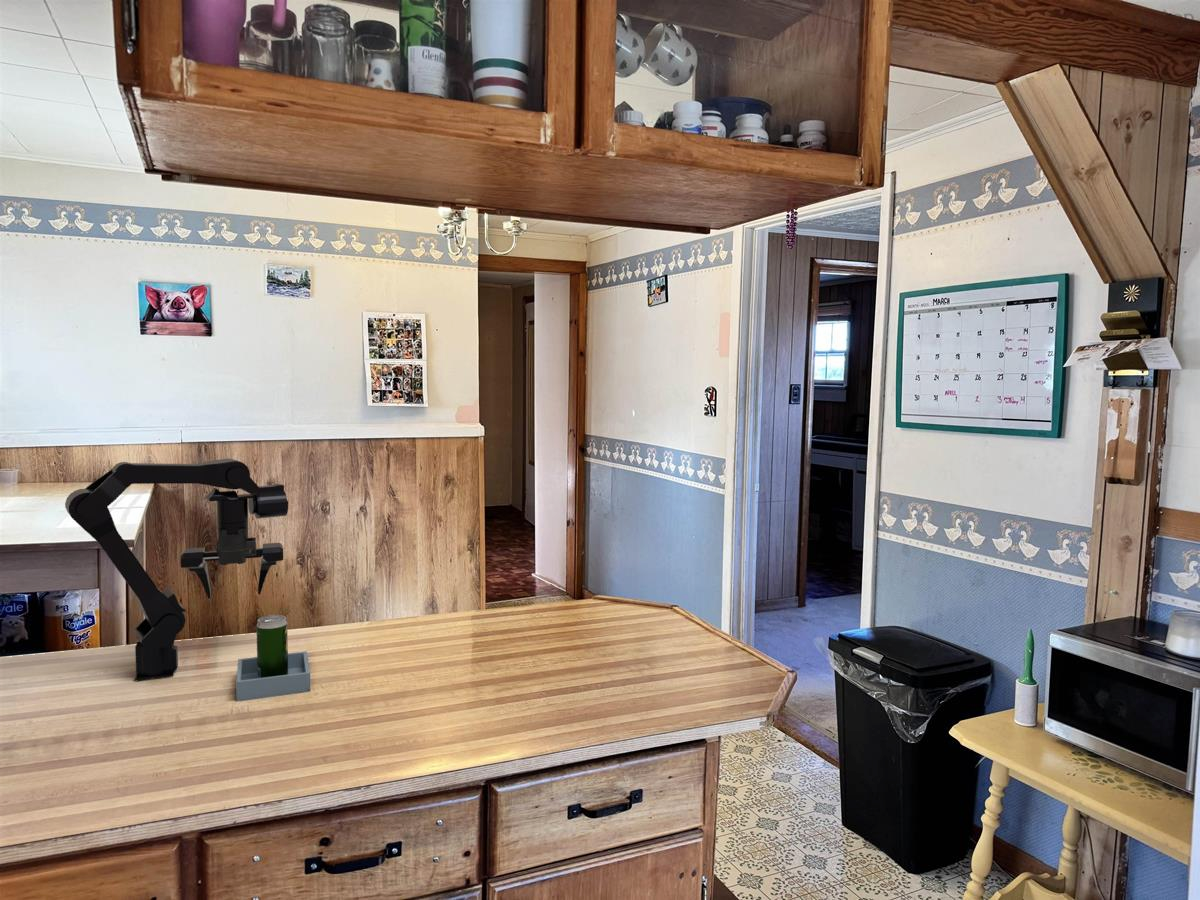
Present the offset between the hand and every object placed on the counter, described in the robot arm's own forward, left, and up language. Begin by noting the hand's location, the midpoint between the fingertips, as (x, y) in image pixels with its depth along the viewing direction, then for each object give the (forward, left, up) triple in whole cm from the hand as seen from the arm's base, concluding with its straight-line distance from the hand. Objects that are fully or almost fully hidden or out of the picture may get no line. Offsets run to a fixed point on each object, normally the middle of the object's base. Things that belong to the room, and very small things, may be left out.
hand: (234, 596), depth 158 cm
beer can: (+7, -17, -13) cm, 23 cm away
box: (+7, -18, -13) cm, 23 cm away
